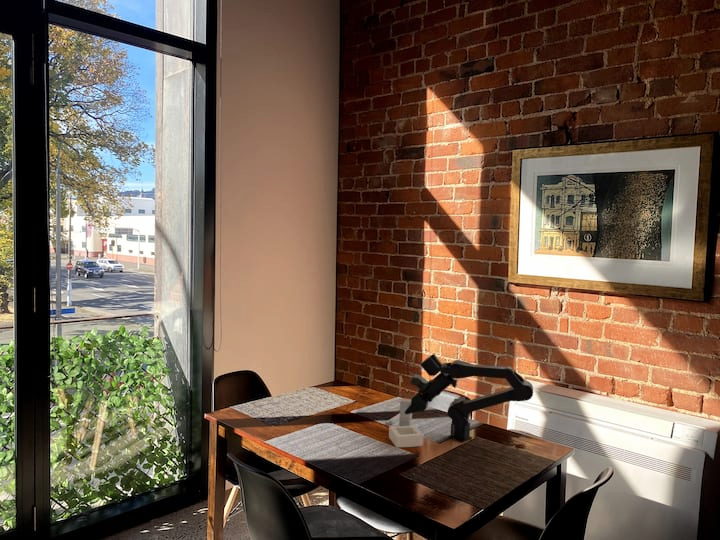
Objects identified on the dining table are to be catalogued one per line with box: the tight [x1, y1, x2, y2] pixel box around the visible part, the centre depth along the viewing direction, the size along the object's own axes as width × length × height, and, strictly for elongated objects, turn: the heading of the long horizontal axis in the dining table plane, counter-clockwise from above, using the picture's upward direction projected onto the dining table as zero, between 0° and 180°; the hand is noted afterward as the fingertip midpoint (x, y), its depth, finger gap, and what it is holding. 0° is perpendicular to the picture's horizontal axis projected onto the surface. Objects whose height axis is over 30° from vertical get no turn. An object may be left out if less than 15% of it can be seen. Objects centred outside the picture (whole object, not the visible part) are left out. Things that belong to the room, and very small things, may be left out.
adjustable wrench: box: [386, 412, 400, 427], centre depth 242 cm, size 25×6×2 cm, turn 147°
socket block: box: [388, 425, 425, 448], centre depth 214 cm, size 10×10×4 cm
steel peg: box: [398, 397, 413, 426], centre depth 225 cm, size 4×4×12 cm
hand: (408, 409), depth 224 cm, fingers open, 9 cm apart
